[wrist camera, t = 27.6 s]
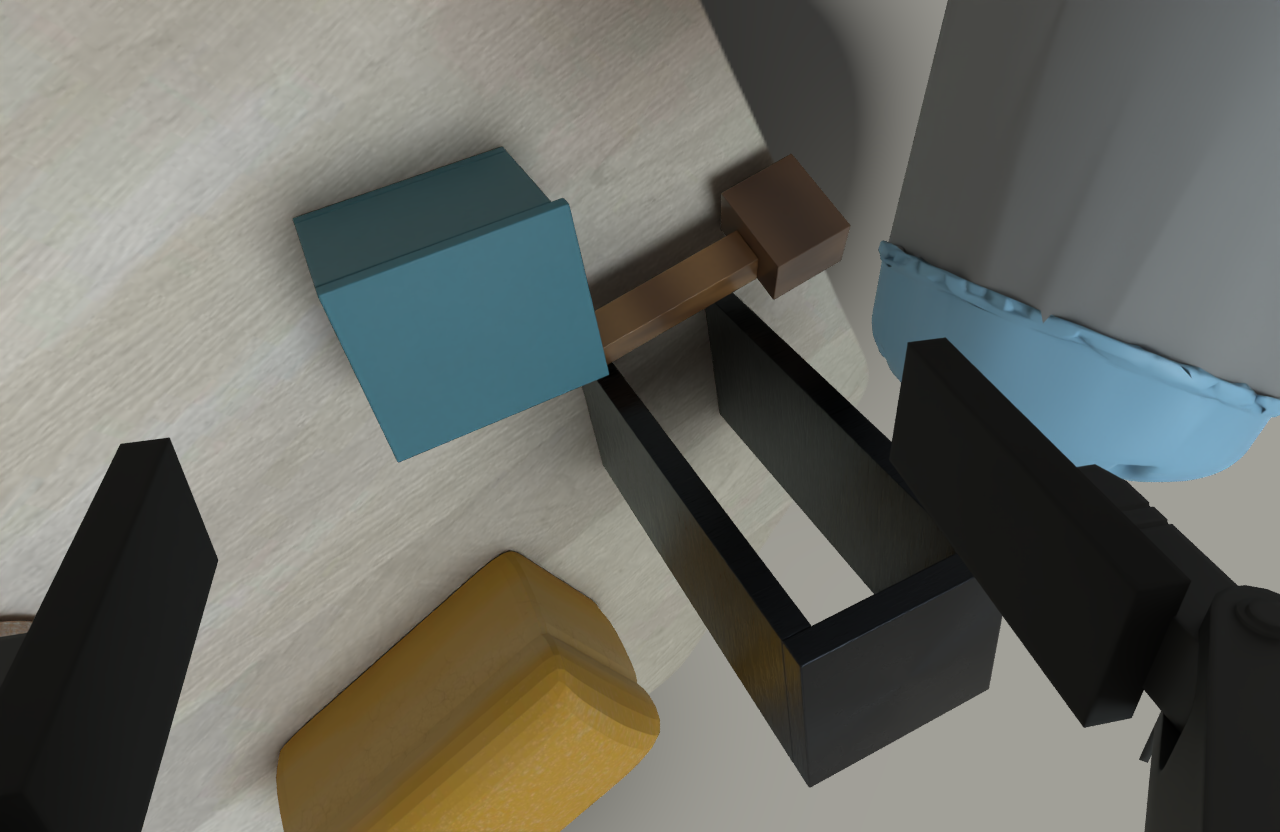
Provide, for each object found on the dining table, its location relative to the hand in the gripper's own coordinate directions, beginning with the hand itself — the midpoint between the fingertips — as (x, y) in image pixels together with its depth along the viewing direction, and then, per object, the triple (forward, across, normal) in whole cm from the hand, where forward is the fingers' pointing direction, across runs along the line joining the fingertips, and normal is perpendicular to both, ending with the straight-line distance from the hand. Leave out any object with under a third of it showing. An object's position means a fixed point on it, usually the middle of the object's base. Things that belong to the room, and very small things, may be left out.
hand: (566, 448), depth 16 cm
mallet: (+35, +12, -15) cm, 40 cm away
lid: (+27, -2, -11) cm, 29 cm away
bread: (+36, -9, -46) cm, 59 cm away
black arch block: (+38, +10, -23) cm, 45 cm away
